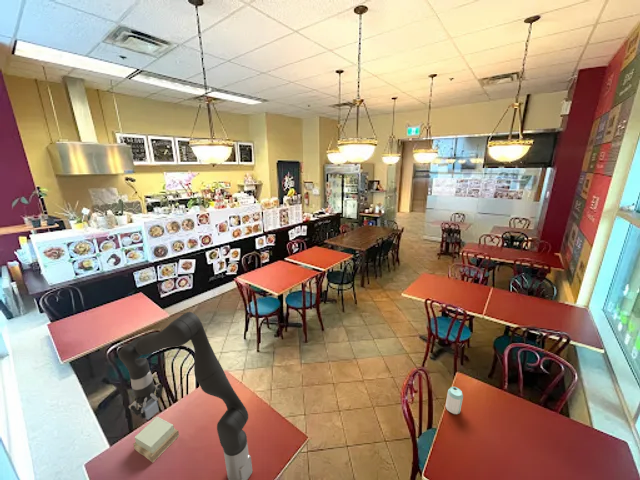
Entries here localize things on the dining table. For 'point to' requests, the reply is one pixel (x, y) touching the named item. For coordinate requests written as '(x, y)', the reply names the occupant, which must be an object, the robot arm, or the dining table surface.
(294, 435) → the dining table surface
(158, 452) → the base block
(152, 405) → the slate cube
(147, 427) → the top block
